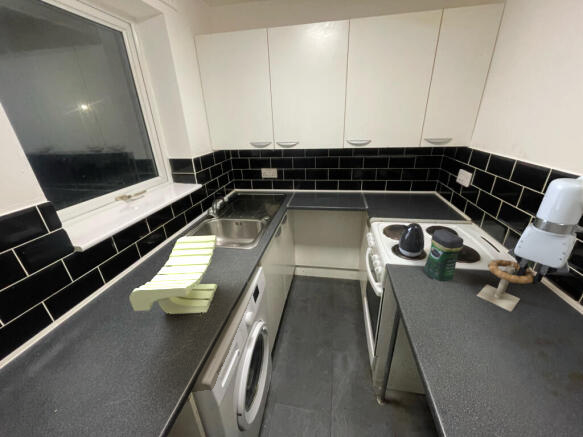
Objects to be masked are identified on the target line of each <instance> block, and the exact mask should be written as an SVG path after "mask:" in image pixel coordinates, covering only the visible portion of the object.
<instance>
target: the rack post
mask: <svg viewBox="0 0 583 437" xmlns="http://www.w3.org/2000/svg"><path fill="white" fill-rule="evenodd" d="M503 272H506V273H508V274H511V275H514V272H515V268H514V267H512V266H506V267H505V269H504V271H503ZM509 285H510V282H509V281H506V280H504V279H501V278H500V281H499V283H498V286H497V288H496V287H494V286H491V285H490V284H485V285H484V287H483V288H482V289H481V290H480V291H479V292H478V294H476V297H479V298H480V299H483V300H485V301H487V302H489V303H491V304H494V305H495V306H498V307H500V308H501V309H504V310H506V311H508V312H510V313H512V311H514V308H515V307H516V306H517V304H518V303H519V301H520V300H521V298H519V297H518V296H516V295H515V296H514V295H512V294H510V293H507V292H506V291H507V288H508V286H509Z"/></svg>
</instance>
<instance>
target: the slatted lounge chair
mask: <svg viewBox="0 0 583 437" xmlns="http://www.w3.org/2000/svg"><path fill="white" fill-rule="evenodd" d="M217 242H218V240H217V235H215V234H214V235H193V236H182V237H179V238H178V239H177V240H176V242H175V244H174V247H173V248H172V252H171V253H170V255H169V258H168V260H167V261H166V262H165V264H163V265H164V266H162V267H161V269H160V270H159V271H158V272H157V273H156V275H155V276H154V277H153V278H152V279H151V280H150V281H147V282H146V283H145V284H144V285H141V286H139V287H138V288H134V289H133V291H132V292H131V293H130V294H129V302H130V304H131V307H132V308H133V311H134V312H144V311H145V312H146V311H151V309H152V308H153V305H154V303H155V302H157V304H158V305H159V307H160V308H161V310H162V311H163V312H164V313H165V314H168V313H169V314H168V315H175V314H176V315H178V314H179V315H180V314H197V313H199V314H201V312H202V313H207V312H208V310H209V308H210V305H211V303H212V301H213V298H214V296H215V293H216V291H217V289H218V285H217V283H201V281H202V279H203V278H204V275H205V274H206V272H207V270H208V267H209V266H210V264H211V262H212V259H213V258H212V257H213V255H214V251H215V249H216V244H217Z"/></svg>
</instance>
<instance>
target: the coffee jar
mask: <svg viewBox="0 0 583 437" xmlns="http://www.w3.org/2000/svg"><path fill="white" fill-rule="evenodd" d="M430 239H431V240H430V249H429V253H428V256H427V259H426V262H425V264H424V268H423V269H424V272H425V273H426V275H428V276H429V277H430V278H431V279H432V280H436V281H438V282H450V281H453V279H454V276H455V272H456V266H457V262H458V257H459V253H460V251H462V249H463V247H464V238H462V237H461V236H459V235H457V234H455V233H453V232H452V231H449V230H447V229H446V228H443V229H435V231H433V233H432V236H431V238H430Z"/></svg>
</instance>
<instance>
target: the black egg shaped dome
mask: <svg viewBox="0 0 583 437" xmlns="http://www.w3.org/2000/svg"><path fill="white" fill-rule="evenodd" d="M401 228H403V229H404V230H403V231H402V233H401V235H400V238H399V240H398V244H397V245H398V249H399V251H400V252H401V253H402V254H403V255H404V256H406V257H409V258H410V257H411V258H414V257H418V256H420V255H421V253H422V252H423V251H424V249H425V234H424V230H423V228H422V226H421V225H420V224H419V223H417V222H411V223H409V224H408V225H405V224H401Z"/></svg>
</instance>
